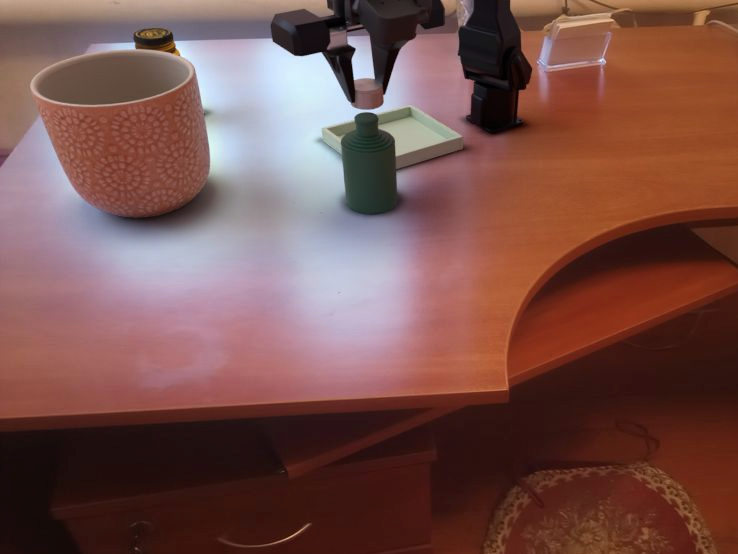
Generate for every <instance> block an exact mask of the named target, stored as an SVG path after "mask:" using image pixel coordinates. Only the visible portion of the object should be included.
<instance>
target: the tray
mask: <svg viewBox="0 0 738 554" xmlns="http://www.w3.org/2000/svg"><path fill="white" fill-rule="evenodd" d="M375 114H376V115H377V116H378V119H379V121H378V129H381V130H384V131H386V132H388V133H390V134H391V135H392V136H393V137H394V139H395V151H396V170H399V169H401V168H405V167H408V166H411V165H415V164H418V163H422V162H426V161H428V160H431V159H435V158H437V157H441V156H445V155H447V154H451V153H454V152H457V151H460V150H463V149H464V136H463V135H461V134H460V133H458V132H456V131H455V130H454V129H452V128H450V127H448V126H447V125H445V124H444V123H442V122H440V121H439V120H437V119H435V118H434V117H432V116H431V115H429V114H427V113H426V112H424V111H422V110H421V109H419V108H418V107H416V106H414V105H413V104H408V105H404V106H400V107H397V108H394V109H389V110H385V111H381V112H378V113H375ZM320 129H321V136H322V137H321V138H322V141H323V142H324V143H325V144H326V145H327V146H329V147H330V148H332V149H333V150H334V151H335V152H337V153H338V154H339V155H341V156H342V151H341V139H342V138H343V137H344V135H346V134H347V133H349V132H351V131H353V130H356V124H355V119H351V120H347V121H343V122H339V123H336V124H335V123H334V124H332V125H328V126H324V127H321V128H320Z"/></svg>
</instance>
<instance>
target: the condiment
mask: <svg viewBox="0 0 738 554" xmlns="http://www.w3.org/2000/svg"><path fill="white" fill-rule="evenodd" d="M132 36H133V37H132V40H133V43H134V49H143V50H156V51H163V52H168V53H172V54H176V55H178V56H181V53H180V51H179V49H178V48H177V45H176V43H175V38H174V34H173V32H172V31H171V30H170V29H168V28H165V27H146V28H143V29H139V30H137V31H135V32H134V33H133V35H132ZM203 112H204V114H206V111H205V110H203Z"/></svg>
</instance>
